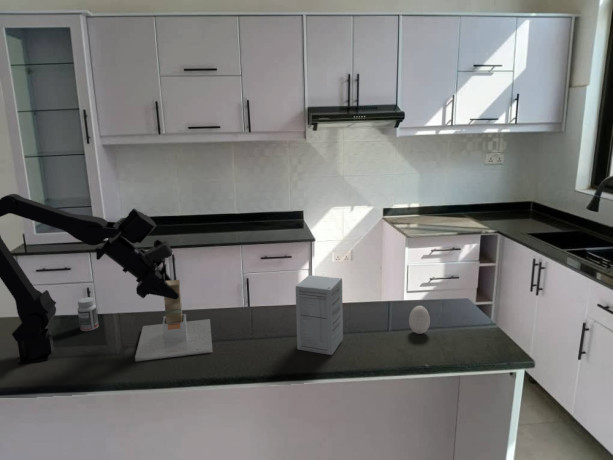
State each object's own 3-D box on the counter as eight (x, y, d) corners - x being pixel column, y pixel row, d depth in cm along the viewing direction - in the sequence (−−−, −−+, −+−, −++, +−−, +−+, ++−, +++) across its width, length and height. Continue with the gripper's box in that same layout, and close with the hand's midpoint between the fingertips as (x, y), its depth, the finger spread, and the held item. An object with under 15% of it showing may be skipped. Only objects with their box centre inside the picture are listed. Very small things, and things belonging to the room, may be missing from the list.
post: (166, 325, 117) (162, 285, 115) (166, 319, 121) (163, 280, 119) (182, 323, 118) (179, 284, 116) (182, 317, 122) (179, 279, 119)
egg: (431, 337, 120) (432, 310, 119) (410, 337, 121) (411, 310, 119) (427, 328, 125) (428, 302, 124) (407, 328, 126) (408, 302, 124)
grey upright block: (343, 339, 120) (344, 277, 116) (332, 356, 111) (332, 289, 108) (309, 334, 123) (308, 274, 120) (295, 349, 115) (294, 285, 111)
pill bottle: (93, 322, 132) (90, 295, 131) (101, 327, 129) (98, 299, 128) (76, 328, 129) (73, 300, 127) (85, 333, 126) (81, 304, 124)
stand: (135, 361, 110) (133, 338, 109) (143, 330, 127) (141, 309, 126) (212, 352, 114) (211, 329, 113) (210, 323, 131) (208, 303, 130)
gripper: (146, 241, 104) (199, 283, 109) (153, 224, 122) (199, 261, 127) (113, 277, 104) (167, 318, 109) (125, 255, 122) (171, 291, 127)
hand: (178, 294), depth 118 cm, fingers open, 4 cm apart
